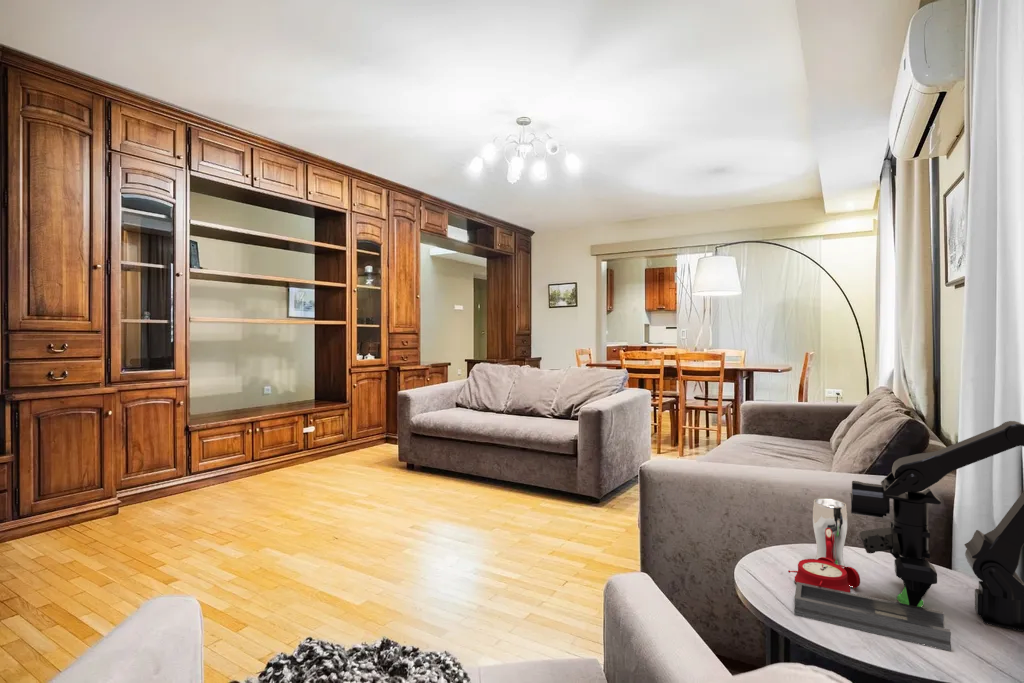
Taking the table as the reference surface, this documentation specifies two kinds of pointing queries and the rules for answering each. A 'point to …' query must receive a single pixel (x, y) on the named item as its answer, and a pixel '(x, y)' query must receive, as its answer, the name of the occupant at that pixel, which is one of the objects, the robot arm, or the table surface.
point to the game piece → (906, 598)
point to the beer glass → (830, 528)
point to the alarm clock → (826, 574)
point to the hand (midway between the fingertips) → (910, 597)
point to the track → (873, 615)
